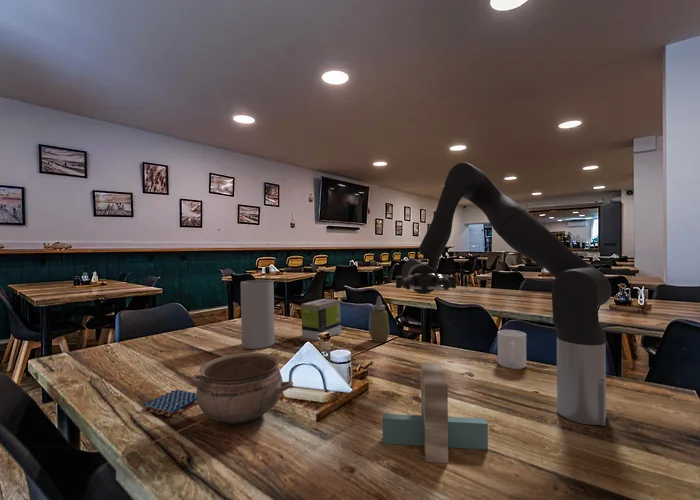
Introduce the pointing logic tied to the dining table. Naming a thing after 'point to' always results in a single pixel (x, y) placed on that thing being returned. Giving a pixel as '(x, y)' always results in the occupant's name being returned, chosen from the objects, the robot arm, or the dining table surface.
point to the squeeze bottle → (379, 322)
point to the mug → (512, 349)
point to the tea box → (320, 318)
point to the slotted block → (434, 412)
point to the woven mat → (172, 403)
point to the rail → (412, 431)
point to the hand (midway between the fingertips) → (427, 285)
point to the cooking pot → (239, 387)
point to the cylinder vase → (257, 314)
